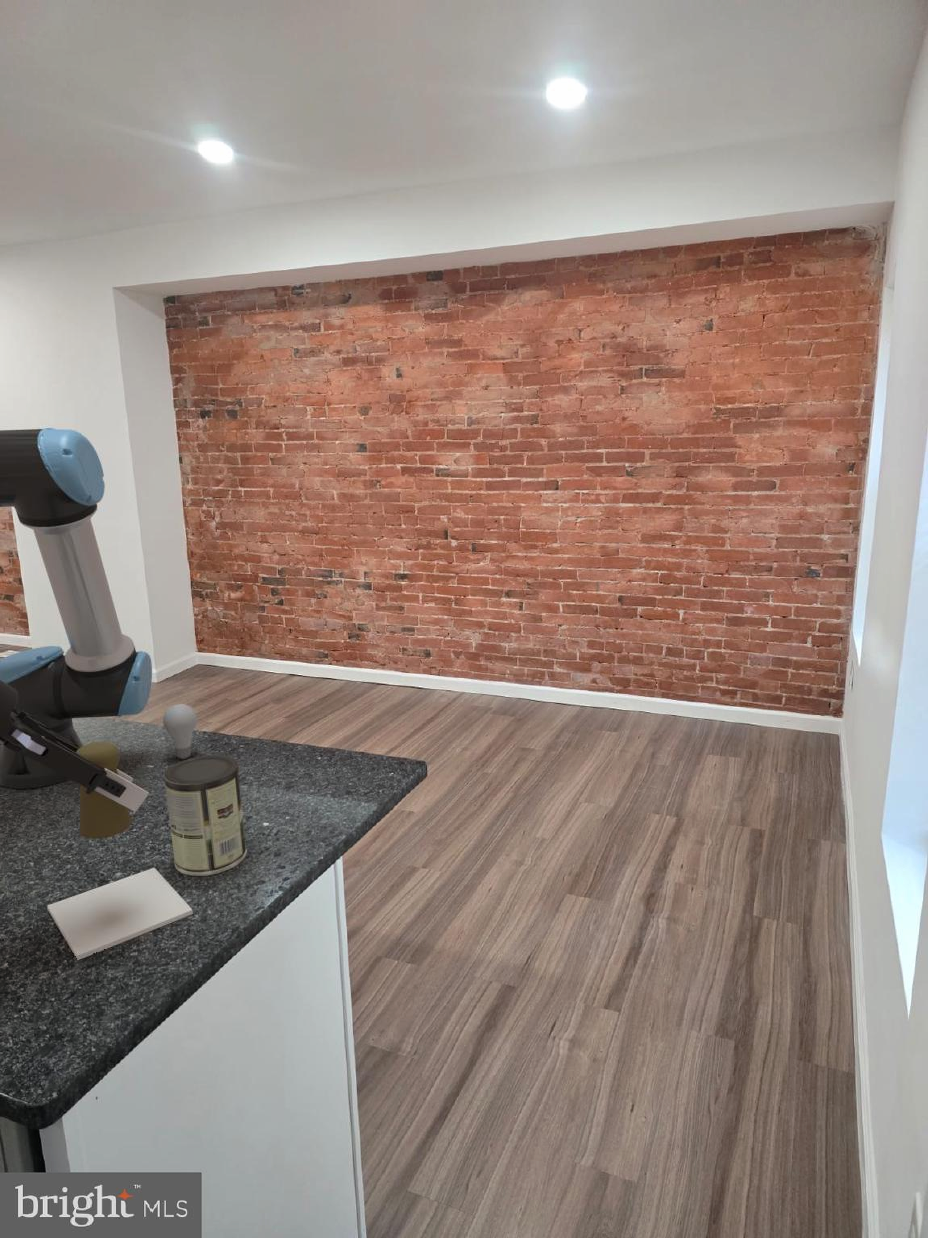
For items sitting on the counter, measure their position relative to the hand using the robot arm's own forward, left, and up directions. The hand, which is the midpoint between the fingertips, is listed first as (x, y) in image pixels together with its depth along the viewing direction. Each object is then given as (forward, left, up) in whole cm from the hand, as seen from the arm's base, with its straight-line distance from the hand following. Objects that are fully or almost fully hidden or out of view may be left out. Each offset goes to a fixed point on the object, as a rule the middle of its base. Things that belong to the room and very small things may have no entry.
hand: (133, 794), depth 102 cm
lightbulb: (-45, +23, -16) cm, 53 cm away
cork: (0, -4, -3) cm, 5 cm away
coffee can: (-6, +11, -16) cm, 20 cm away
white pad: (0, -3, -16) cm, 16 cm away
